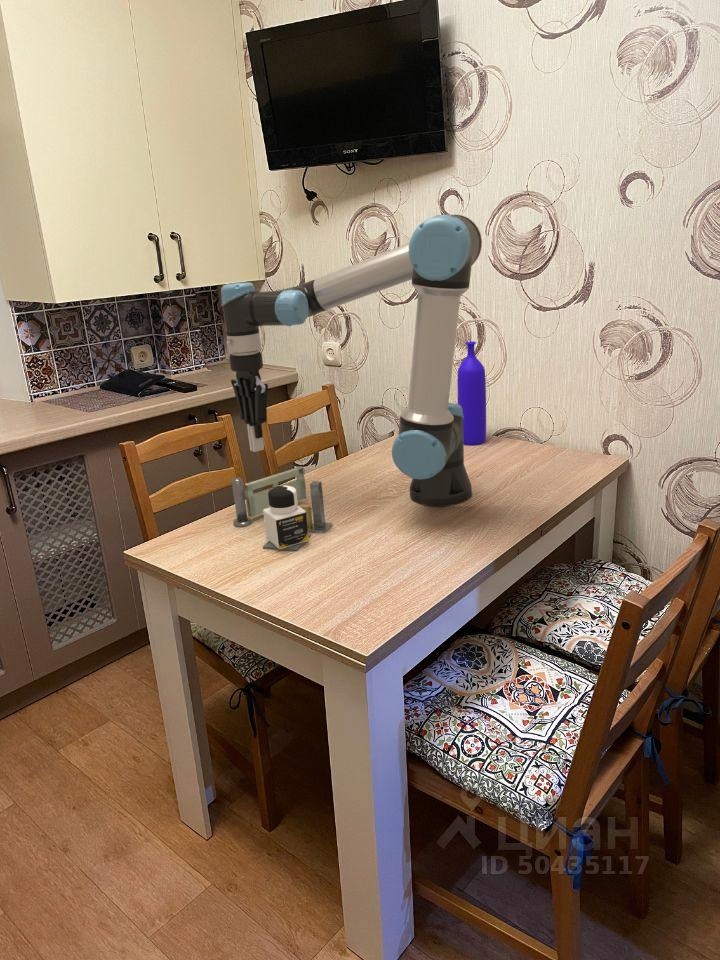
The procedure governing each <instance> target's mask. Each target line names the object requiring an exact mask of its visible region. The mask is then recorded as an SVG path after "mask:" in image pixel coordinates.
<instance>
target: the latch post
mask: <svg viewBox="0 0 720 960" xmlns="http://www.w3.org/2000/svg"><path fill="white" fill-rule="evenodd" d="M309 489H310V490H309V491H310V501H311V504H299V505H298V506H299V507H300V508H302V509H303V510H305V511H306V516H307V526H308V533H319V534H326V533H327V532H328V531H329V530H330V529H331V528H332V527H333V522H326V515H325V504H324V493H323V492H324V491H323V484H322V481H321V480H320V481H318V480H316V481H315V480H313V481H311V482H310V483H309Z"/></svg>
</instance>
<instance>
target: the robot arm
mask: <svg viewBox="0 0 720 960" xmlns="http://www.w3.org/2000/svg"><path fill="white" fill-rule="evenodd" d="M482 244H483V240H482V234H481V231H480V229H479V227H478V226H477V225H476V223H475V222H474V221H473V220H472V219H470V218H469V217H468V216H464V215H460V214H436V215H433V216H431V217H429V218H427V219H426V220H424V221H422V222H421V223H420V224H418V226H417V227H416V229H415V230H414V231H413V232H412V235H411V237H410V240H409V242H408V243H405V244H402V245H400V246H397V247H394V248H392V249H389V250H387V251H385V252H381V253H379V254H377V255H375V256H372V257H369V258H367V259H363V260H361V261H358V262H355V263H353V264H350V265H348V266H346V267H343V268H341V269H338V270H336V271H333V272H331V273H328V274H325V275H322V276H320V277H317V278H315V279H312V280H309V281H307V282H305V283H301V284H299V285H295V286H292V287H288V288H283V289H279V290H270V291H269V290H268V291H256V288H255V285H254V284H253V283H252V282H234V283H228V284H224V285H222V287H221V288H220V293H221V307H222V313H223V319H224V325H225V333H226V334H225V335H226V344H227V347H228V348H227V349H228V352H229V353H230V355H229V356H228V358H229V366H230V367H229V368H230V370H231V371H232V372H235V378H234V379H231V380H230V384H231V386H232V389H233V391H234V396H235V399H236V403H237V408H238V413H239V418H240V420H242V421H244V423H245V424H246V427H247V437H248V442H249V443H248V444H249V450H250V451H251V452H254V453H256V452H259V451H263V450H265V444H264V437H263V436H264V435H263V427H262V425H263V424H264V423H267V422H268V416H267V415H268V414H267V413H268V407H267V406H268V405H267V404H268V403H267V402H268V401H267V399H268V398H267V397H268V389H269V385H268V383H263V382H262V376H261V374H260V369H263V367H264V363H263V362H264V361H263V354H262V352H261V351H260V350H262V342H261V337H260V327H265V326H266V327H267V326H270V327H271V326H278V327H279V326H286V327H291V326H297V325H302V324H304V323H305V322H306V320H307V319H308V318H310V317H313V316H316V315H318V314H320V313H323V312H325V311H328V310H330V309H333V308H336V307H340V306H341V305H343V304H348V303H349V302H353V301H356V300H358V299H361V298H364V297H367V296H369V295H372V294H375V293H378V292H380V291H383V290H386V289H389V288H391V287H395V286H398V285H400V284H403V283H406V282H408V281H411V285H412V287H413V288H414V290H415V291H416V292H417V304H416V315H415V326H414V327H415V328H414V337H413V346H412V348H413V349H412V357H411V358H412V361H411V370H410V371H411V372H410V381H409V382H410V383H409V392H408V394H409V395H408V403H407V406H406V407H405V408H403V410H401V411H400V414H399V415H400V416H399V425H398V427H399V428H398V435H397V436H396V437H395V439H394V441H393V444H392V446H391V457H392V460H393V463H394V465H395V466H396V468H397V469H398V470H399V471H400V472H401V473H402V474H403V475H405V476H406V477H409V478H411V482H410V486H409V498H410V499H411V501H413V502H414V503H416V504H419V505H423V506H427V507H428V506H429V507H448V506H454V505H458V504H461V503H464V502H466V501H468V500H469V499H471V497H472V495H473V492H472V491H473V488H472V483H471V480H470V477H469V474H468V472H467V470H466V467H465V461H464V459H465V457H464V455H465V454H464V453H465V452H464V451H465V450H464V447H465V446H464V444H463V418H464V416H463V411H462V407H461V406H460V405H459V404H458V403H454V402H450V392H451V383H452V374H453V366H454V356H455V348H456V340H457V339H456V338H457V330H458V321H459V312H460V305H461V304H460V303H461V297H462V296H463V294H465V293H466V292H467V291H468V290H469V289H470V283H471V281H470V280H471V275H472V266H473V265H474V264H475V263H476V261H477V260H478V259H479V257H480V254H481V251H482V246H483V245H482Z"/></svg>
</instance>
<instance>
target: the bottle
mask: <svg viewBox="0 0 720 960" xmlns="http://www.w3.org/2000/svg"><path fill="white" fill-rule="evenodd" d="M476 344H477V341H473V340H471V341H465V345H466V346H467V355H466V357H465V358H464V360H463V361H462V362H461V363H460V365H459V367H458V369H457V382H456V383H457V404H459V405H460V406H461V407H462V411H463V416H464V418H463V446H464V445H465V446H479V445H483V444H485V443H486V441H487V440H486V439H487V387H486V386H487V385H486V383H487V382H486V381H487V380H486V370H485V366H484V365H483V364H482V362H481V361H480V360H479V359H478V358H477V357H476V353H475V345H476Z"/></svg>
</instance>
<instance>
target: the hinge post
mask: <svg viewBox="0 0 720 960" xmlns="http://www.w3.org/2000/svg"><path fill="white" fill-rule="evenodd" d="M243 481H244V480H243V478H242V477H240V476H239V477H233V478H232V479H231V485H232V491H233V492H232V493H233V499H234V507H235V514H236V519H234V520H233V522H232V523H233V526H234V527H235V528H236V527H238V528H243V527H248V526H251V525H252V524H253V519H252V517H249V516H248V511H247V503H246V496H245V489H244V482H243Z"/></svg>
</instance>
